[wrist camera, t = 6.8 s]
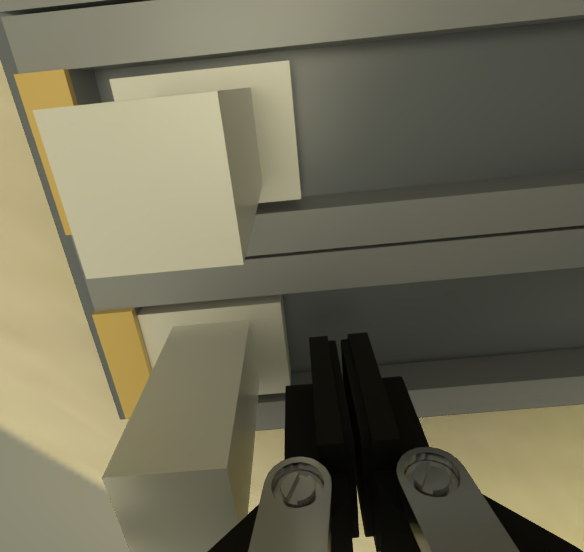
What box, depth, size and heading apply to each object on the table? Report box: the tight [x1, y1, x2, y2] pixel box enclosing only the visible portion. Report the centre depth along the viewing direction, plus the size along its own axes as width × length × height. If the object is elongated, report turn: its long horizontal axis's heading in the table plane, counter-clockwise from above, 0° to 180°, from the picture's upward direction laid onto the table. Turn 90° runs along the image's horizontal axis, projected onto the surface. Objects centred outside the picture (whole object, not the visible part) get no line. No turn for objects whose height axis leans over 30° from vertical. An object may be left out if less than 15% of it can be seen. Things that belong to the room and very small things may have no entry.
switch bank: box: [0, 0, 584, 431], centre depth 12 cm, size 22×20×3 cm
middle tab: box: [32, 60, 301, 279], centre depth 9 cm, size 4×3×7 cm
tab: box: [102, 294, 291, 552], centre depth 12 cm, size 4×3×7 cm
